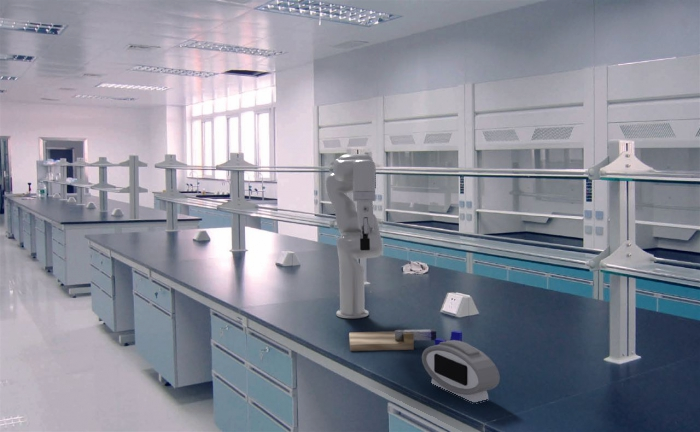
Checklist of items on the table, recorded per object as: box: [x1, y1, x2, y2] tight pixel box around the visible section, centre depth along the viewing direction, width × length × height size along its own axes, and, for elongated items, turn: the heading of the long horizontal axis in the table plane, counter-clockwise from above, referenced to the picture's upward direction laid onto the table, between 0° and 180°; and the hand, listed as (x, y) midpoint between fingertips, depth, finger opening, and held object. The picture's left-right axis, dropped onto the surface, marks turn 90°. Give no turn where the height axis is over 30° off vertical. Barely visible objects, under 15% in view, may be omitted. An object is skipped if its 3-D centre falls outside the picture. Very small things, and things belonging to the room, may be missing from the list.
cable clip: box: [434, 330, 463, 345], centre depth 188 cm, size 12×4×6 cm, turn 143°
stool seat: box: [348, 331, 415, 352], centre depth 201 cm, size 14×20×5 cm
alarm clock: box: [421, 339, 501, 402], centre depth 157 cm, size 23×6×13 cm, turn 31°
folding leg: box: [394, 328, 437, 342], centre depth 197 cm, size 13×3×3 cm, turn 90°
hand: (365, 249), depth 211 cm, fingers closed
